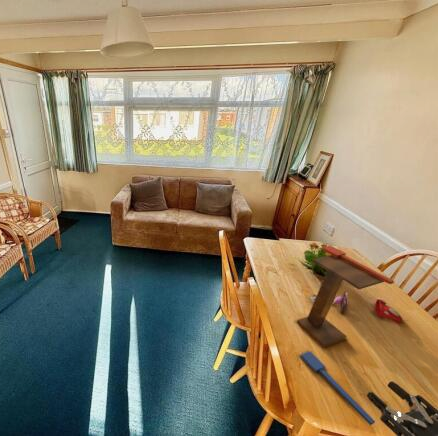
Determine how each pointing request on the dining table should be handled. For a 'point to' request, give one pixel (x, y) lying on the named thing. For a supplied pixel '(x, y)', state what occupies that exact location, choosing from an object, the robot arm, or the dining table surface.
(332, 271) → the shelf stand
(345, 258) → the red spatula
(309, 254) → the potted flower
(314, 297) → the grey flat lumpy piece
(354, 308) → the dining table surface
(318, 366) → the blue paddle stick
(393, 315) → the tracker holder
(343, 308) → the pink toy figure
